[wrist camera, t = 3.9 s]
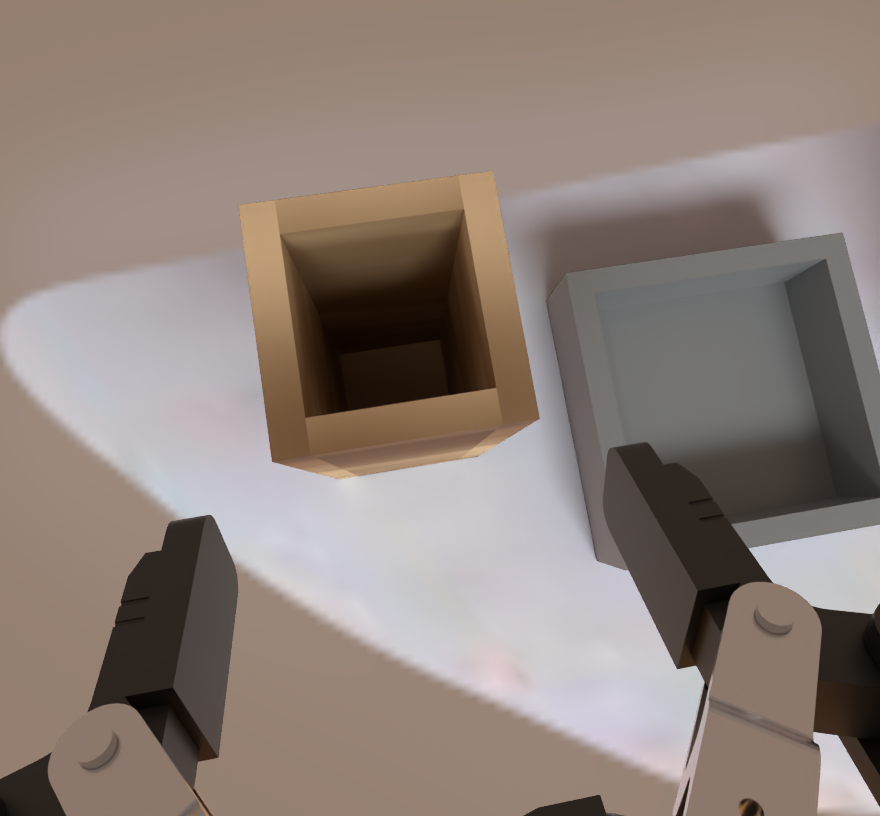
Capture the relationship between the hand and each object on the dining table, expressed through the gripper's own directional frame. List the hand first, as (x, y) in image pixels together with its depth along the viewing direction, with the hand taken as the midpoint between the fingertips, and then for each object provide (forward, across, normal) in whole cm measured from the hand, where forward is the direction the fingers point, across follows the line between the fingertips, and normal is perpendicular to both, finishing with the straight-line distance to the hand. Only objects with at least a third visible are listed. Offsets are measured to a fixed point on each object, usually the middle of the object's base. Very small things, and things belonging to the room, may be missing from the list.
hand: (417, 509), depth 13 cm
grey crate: (+8, -11, +6) cm, 15 cm away
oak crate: (+10, 0, +4) cm, 10 cm away
